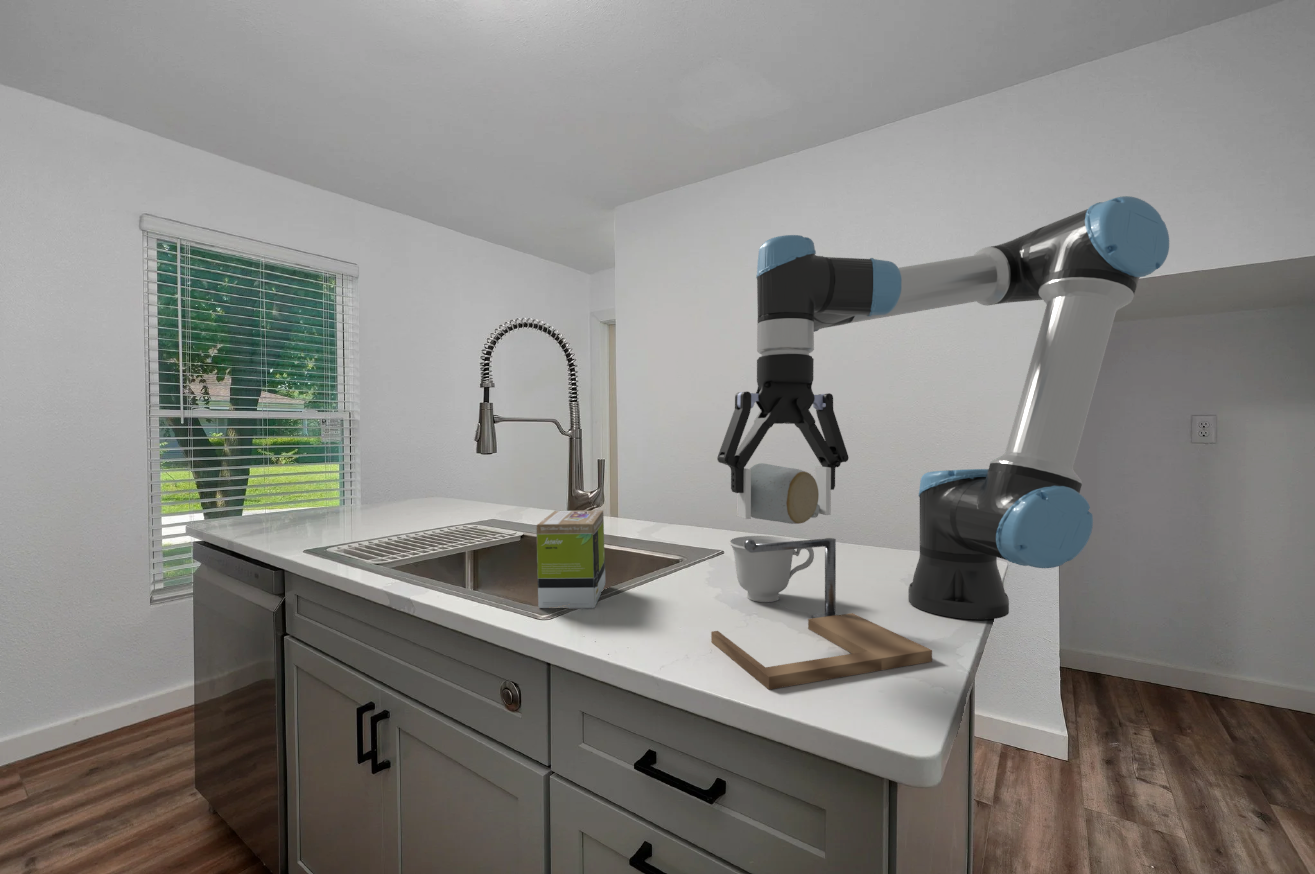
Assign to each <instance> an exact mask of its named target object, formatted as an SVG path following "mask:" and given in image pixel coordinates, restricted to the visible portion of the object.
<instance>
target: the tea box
mask: <svg viewBox="0 0 1315 874" xmlns="http://www.w3.org/2000/svg"><path fill="white" fill-rule="evenodd" d="M604 517H605V516H604V510H561V511H560V510H554V511H553V512H552V513H550V514H549V515H548V516H546V517H545V518H544V519H542V520H541V521H540V522H539V523H537V524H536V563H537V566H536V568H537V571H536V572H537V601H538V603H537V605H538V606H537V607H538V608H539V609H540V608H549V607H558V606H562V605H567V606H564V607H568V608H569V609H568V610H571V609H574V610H575V609H577V610H578V609H587V610H588V609H595V608H596V606H597V603H598V601H599V599H600V597H601V594H602V593H601V592H603V589H604V588H605V586H606V559H605V558H606V557H605V556H606V555H605V529H604V527H605V526H604V524H605V523H604ZM568 604H570V605H568ZM560 608H563V607H560Z"/></svg>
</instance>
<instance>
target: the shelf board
mask: <svg viewBox="0 0 1315 874" xmlns="http://www.w3.org/2000/svg"><path fill="white" fill-rule="evenodd" d="M807 622H808V623H807V626H808V627H807V629H808V630H809V631H811V632H813V633H814V634H817V635H818V636H820V637H822V638H824V639H826V640H827V641H829V642H830V643H833V644H834V645H836V646H838V647H840V648H842V649H843V650H845V651H847V652H849V653H847V654H841V655H836V656H828V657H823V658H815V659H812V660H811V659H809V660H804V661H796V662H791V663H785V664H779V665H773V666H765V665H763V664H762V663H761V662H759V661H758V660H757V659H755V658H754V656H752V655H750V653H748V652H746V651H745V650H744V649H742V648H741V647H740V646H739V645H738V644H736V643H734V641H732V640H731V639H729V638H728V637H727V636H725V635H724V634H723V633H722V632H720V631H719V630H713V631H711V632H710V633H711V636H710V637H711V639H710V640H711V643H712V644H713V645H714V646H715V647H716V648H718V649H719V650H720V651H722V653H724V654H725V655H726V656H727V657H728V658H730V659H731V660H732V661H734V662H735V663H736V664H737V665H738V666H739V667H740V668H742V669H743V670H744V671H745V672H747V673H748V674H750V676H752V677H753V678H754V679H755V680H756V681H758V682H759V683H760V684H761V685H763V687H764V688H766V689H767V690H769V691H770V690H775V689H781V688H785V687H787V688H788V687H793V686H799V685H803V684H809V683H815V682H821V681H827V680H828V681H829V680H835V679H838V678H844V677H845V678H846V677H851V676H854V675H855V676H856V675H861V674H862V675H863V674H867V673H873V672H878V671H885V670H891V669H896V668H897V669H898V668H901V667H907V666H914V665H921V664H925V663H926V664H927V663H931V662H933V649H930V648H929V647H926V646H925V645H921V644H920V643H918V642H916V641H913V640H911V639H909V638H906V637H905V636H903V635H900V634H899V633H896V632H894V631H892V630H889V629H887V628H885V627H883V626H881V625H879V624H877V623H874V622H872V621H870V620H868V619H867V618H864V617H862V616H860V615H857V614H855V613H853V612H850V613H844V614H836V615H835V616H827V617H819V618H812V617H811V618H808V619H807Z"/></svg>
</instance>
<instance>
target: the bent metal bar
mask: <svg viewBox="0 0 1315 874" xmlns="http://www.w3.org/2000/svg"><path fill="white" fill-rule="evenodd" d="M836 542H837V541H836V538H835V537H826V538H818V539H804V540H801V539H800V540H793V541H789V542H776V543H763V544H756V542H755V541H754V540H752V539H748V540H746V541H745V543H744V548H745V549H746V550H747V551H749V552H750V553H754V552H766V551H778V550H790V549H794V550H797V549H802V548H823V547H824V613H822V614H814V615H811V619H812V618H819V617H827V616H835V615H837V614H836V611H837V609H836V606H837V604H836V603H837V602H836V601H837V600H836V599H837V598H836V596H837V595H836V594H837V593H836V584H837V581H836V578H837V577H836V575H837V574H836V571H837V570H836V567H837V566H836V565H837V563H836V561H837V560H836V555H837V552H836V551H837V544H836ZM802 550H803V549H802Z"/></svg>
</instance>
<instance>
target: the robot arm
mask: <svg viewBox="0 0 1315 874" xmlns="http://www.w3.org/2000/svg"><path fill="white" fill-rule="evenodd" d="M1161 216H1162V215H1161V214H1160V213H1159V211H1158V210H1157V209H1156V208H1155V207H1154V206H1153V205H1151V204H1150V203H1148V202H1147V201H1145V200H1144V199H1141V198H1139V197H1134V196H1126V195H1125V196H1117V197H1115V198H1111V199H1109V200H1108V199H1107V200H1105V201H1101V202H1096V203H1093V204H1092V205H1090V206H1089V207H1088V208H1086V209H1084V210H1082V211H1080V212H1076V213H1074V214H1072V215H1068V216H1067V217H1064V218H1062V219H1060V220H1056V221H1054V222H1051V223H1049V224H1047V225H1045V226H1041V227H1039V228H1037V229H1034V230H1032V231H1030V232H1028V233H1026V234H1023V235H1021V236H1019V237H1016V238H1015V239H1011V240H1010V241H1007V242H1003V243H1001V244H998V245H993V246H987V247H983V248H980V249H978V250H977V251H976V252H975V253H974V254H973V255H970V256H963V257H957V258H953V259H952V258H951V259H945V260H938V261H932V262H926V263H920V264H919V263H918V264H912V265H908V266H901V267H898V266H897V264H896V263H894V262H892V261H889V260H884V259H883V260H882V259H876V258H873V257H870V258H856V257H855V258H852V257H834V256H833V257H831V256H823V255H816V254H817V252H816V249H815V243H814V241H813V240H812V238H809V237H808V236H807V237H806V236H803V235H798V234H786V235H785V234H783V235H779V236H774V237H772V238H770V239H768V240H765V241H764V243H762V245H761V246H760V247H759V249H758V259H757V267H756V269H757V271H756V277H755V279H756V283H757V284H756V287H757V288H756V292H757V293H756V294H757V297H756V298H757V323H756V325H757V328H756V329H757V330H756V331H757V332H756V334H757V335H756V337H757V338H756V351H757V353H758V354H760V355H761V356H759V357H758V358H757V359H756V383H757V389H756V391H755V392H754V393H753V392H752V393H751V392H750V391H740V392H737V393H735V394H734V411H733V413H732V416H731V419H730V421H729V424H728V427H727V430H726V432H725V436H724V438H723V440H722V441H723V442H722V443H721V446H720V449H719V452H718V456H717V457H716V458H717V462H718V463H720V464H723V465H725V466H728V467H729V468H730V489H731V493H732V492H733V493H735V494H736V517H739V518H741V519H743V520H744V519H745V520H751V518H752V517H751V469H750V468H746V466H747V464H748V463H749V461H750V459H751V458H752V457H753V455H754V453H755V452H756V450H757V448H758V447H759V445H760V444H761V442H762V441H763V439H764V437H765V436H766V434H767V433H768V431H769V430H770V428H772V427H773V425H777V424H779V425H780V424H781V425H782V424H783V425H784V424H786V425H793V424H794V426H795V427H796V428H798V430H799V431H800V432H801V434H802V435H803V437H804V439H805V440H806V443H808V445H809V448H810V449H811V450H812V452H813V453H814V455H815V457H816V459H817V461H818V462H819V464H820V466H814V471H815V472H814V479H815V481H816V483H817V486H818V493H819V496H818V505H819V506H820V510H819V514H818V515H825V516H831V515H832V513H831V510H832V508H831V505H832V504H831V503H832V502H831V499H832V497H831V496H832V493H831V491H832V490H833V491H834V490H835V487H836V468H839V467H840V466H841V463H847V462H848V460H849V457H850V456H849V454H848V451H847V448H846V445H845V441H844V437H843V436H842V432H841V429H840V427H839V426H840V425H839V424H838V420H837V417H836V415H835V411H834V395H833V394H832V393H828V392H827V393H820V394H819V393H818V394H814V392H813V388H812V386H813V382H814V360H815V359H814V358H813V356H812V355H810V354H811V353H813V351H814V350H815V347H814V346H815V335H814V333H816V332H818V331H819V330H822V329H827V328H831V327H837V326H843V325H846V324H847V325H848V324H852V323H859V322H865V321H870V320H871V321H872V320H875V319H881V318H887V317H894V316H898V315H899V316H900V315H904V314H910V313H917V312H923V311H928V310H929V311H930V310H935V309H940V308H945V307H952V306H957V305H964V304H969V303H970V304H971V303H978V304H979V305H981V306H995V305H999V304H1000V305H1001V304H1007V303H1008V304H1009V303H1018V302H1020V303H1021V302H1031V301H1043V302H1044V303H1045V305H1046V306H1045V311H1044V314H1043V317H1042V320H1041V324H1040V327H1039V332H1038V335H1037V337H1036V338H1037V339H1036V342H1035V346H1034V349H1033V353H1032V356H1031V360H1030V363H1029V365H1028V366H1029V367H1028V370H1027V373H1026V377H1025V381H1024V385H1023V388H1022V391H1021V395H1020V399H1019V402H1018V405H1017V406H1018V407H1017V410H1016V414H1015V416H1014V420H1013V424H1012V428H1011V429H1010V430H1011V431H1010V434H1009V437H1008V442H1007V445H1006V449H1005V452H1004V454H1002V455H1001V456H999V457H997V458H996V459H994V460H993V459H992V461H990V462H989V466H988V468H972V469H952V470H949V469H948V470H935V471H933V470H932V471H928V472H925V473H924V474H923V475H922V476H921V478H920V482H919V490H918V498H919V557H918V561H917V563H916V568H915V571H914V575H913V579H912V582H911V583H910V584H909V586H908V592H907V593H908V603H910V605H912V606H914V607H915V608H917V609H919V610H921V611H924V612H927V613H931V614H935V615H938V616H941V617H942V616H943V617H949V618H953V619H955V618H956V619H963V620H980V621H981V620H996V619H1001V618H1005V617H1006V616H1008V615H1009V614H1010V601H1009V600H1010V599H1009V596H1008V594H1007V593H1006V592H1005V588H1004V584H1003V580H1002V579H1003V578H1002V577H1001V573H1000V569H999V568H998V562H997V561H998V559H997V558H999V559H1002V560H1005V561H1008V562H1009V563H1011V564H1015V565H1018V566H1023V567H1031V568H1038V569H1055V568H1057V567H1060V566H1062V565H1064V564H1066V563H1067V562H1070V561H1072V560H1074V559H1075V558H1076V557H1077V556H1078V555H1079V554H1080V553H1081V552H1082V551H1083V550H1084V548H1085V547H1086V545H1087V543H1088V541H1089V540H1090V538H1091V535H1092V530H1093V527H1094V526H1093V525H1094V524H1093V523H1094V516H1093V513H1092V512H1090V511H1089V510H1090V509H1091V507H1090V504H1089V501H1088V500H1087V499H1086V498H1085V497H1084V496H1083V495H1082V494H1081V490H1082V489H1081V488H1082V485H1083V481H1082V479H1081V478H1080V477H1079V475H1078V474H1077V473H1076V472H1075V470H1074V466H1075V462H1076V458H1077V455H1078V451H1079V448H1080V445H1081V444H1080V443H1081V440H1082V437H1083V433H1084V430H1085V426H1086V422H1087V419H1088V415H1089V411H1090V408H1091V404H1092V400H1093V396H1094V392H1095V389H1096V386H1097V382H1098V378H1099V375H1100V372H1101V368H1102V365H1103V361H1104V357H1105V354H1106V350H1107V347H1108V342H1109V339H1110V336H1111V331H1112V328H1113V325H1114V321H1115V316H1116V313H1117V311H1118V310H1119V311H1120V310H1121V309H1122V308H1124V307H1125V306H1127V305H1129V304H1131V303H1132V302H1133V299H1134V297H1135V293H1136V290H1137V286H1138V283H1139V280H1140V278H1142V277H1147V276H1149V275H1151V274H1153V273H1155V271H1156V270H1158V269H1160V268H1161V266H1163V265H1164V263H1165V261H1166V260H1167V258H1168V255H1169V251H1170V235H1169V231H1168V228H1167V225H1166V223H1165V221H1164V220H1163V219H1162V217H1161ZM755 404H756V406H757V407H758V408H759V410H760V411H759V412H758V414H757V415H756V417H755V419H754V420H753V424H752V426H751V427H750V429H749V431H748V432H747V434H746V435H745V437H744V438H743V437H742V436H743V433H744V432H745V428H746V426H747V422H748V420H749V417H750V414H751V409H753V408H754V405H755ZM811 407H813V408H814V409H815V412H816V416H817V420H818V422H819V425H820V429H821V431H820V429H819V428H818V426H817V425H816V419H815V418H814V416H813V415H812V413H811V411H810V409H811ZM742 438H743V440H742ZM741 440H742V442H741Z"/></svg>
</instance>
